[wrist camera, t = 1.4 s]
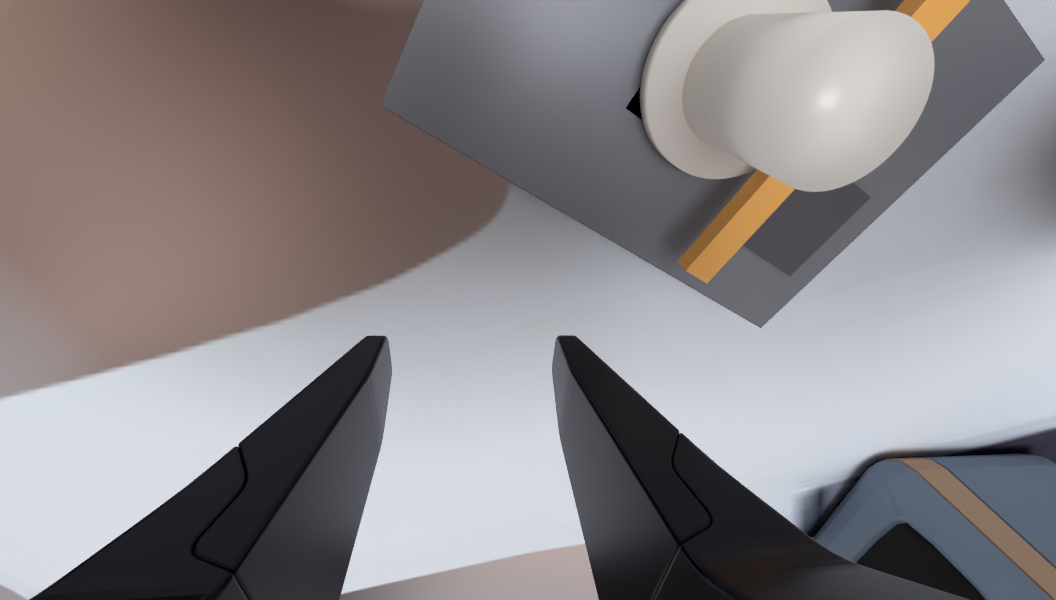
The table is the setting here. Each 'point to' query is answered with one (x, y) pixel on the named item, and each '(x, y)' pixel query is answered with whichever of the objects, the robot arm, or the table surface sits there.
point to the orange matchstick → (761, 195)
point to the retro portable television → (954, 524)
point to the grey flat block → (625, 149)
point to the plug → (784, 89)
